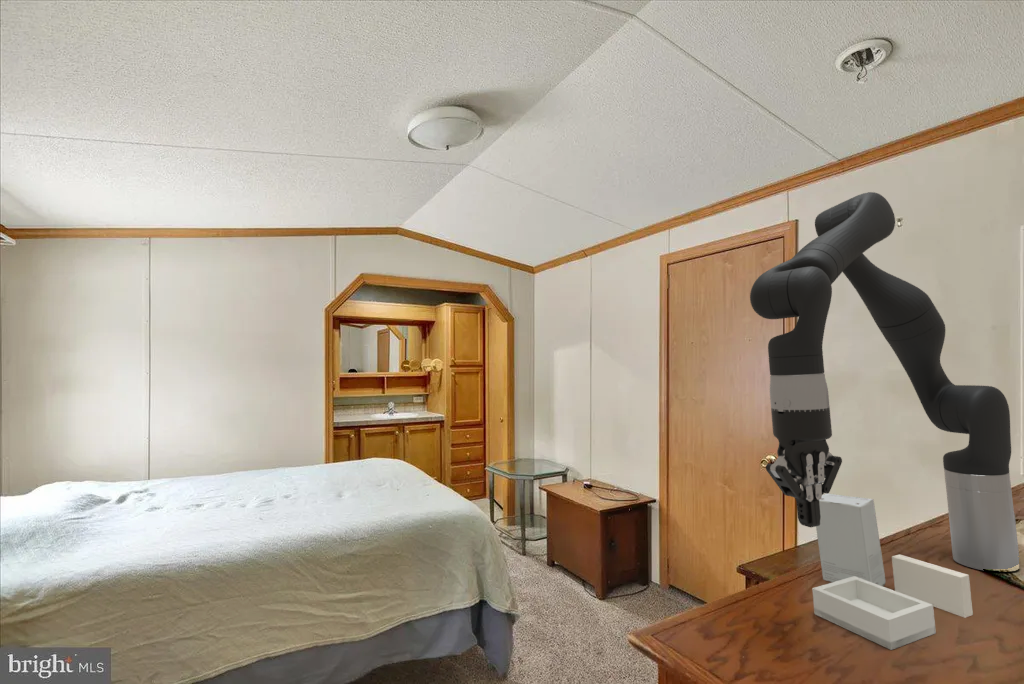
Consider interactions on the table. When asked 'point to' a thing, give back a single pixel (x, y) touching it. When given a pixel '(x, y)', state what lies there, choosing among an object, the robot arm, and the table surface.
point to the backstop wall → (933, 585)
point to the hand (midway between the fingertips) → (809, 525)
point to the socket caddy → (874, 611)
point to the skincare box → (849, 539)
